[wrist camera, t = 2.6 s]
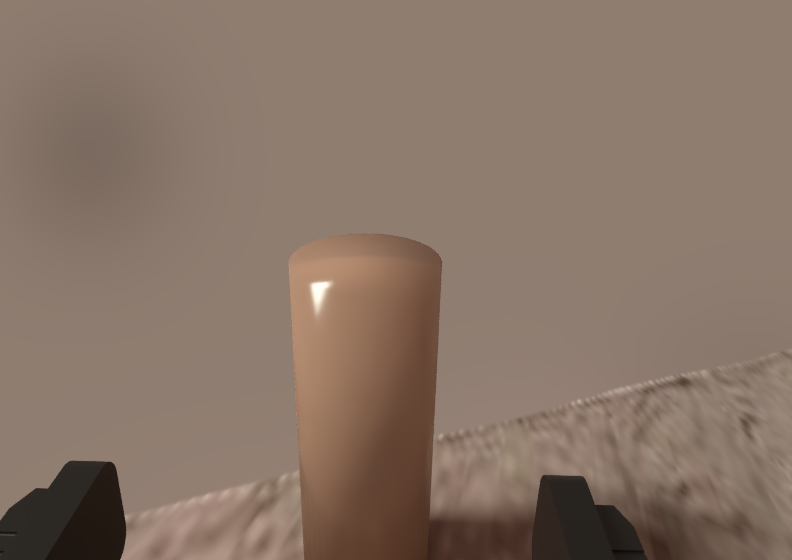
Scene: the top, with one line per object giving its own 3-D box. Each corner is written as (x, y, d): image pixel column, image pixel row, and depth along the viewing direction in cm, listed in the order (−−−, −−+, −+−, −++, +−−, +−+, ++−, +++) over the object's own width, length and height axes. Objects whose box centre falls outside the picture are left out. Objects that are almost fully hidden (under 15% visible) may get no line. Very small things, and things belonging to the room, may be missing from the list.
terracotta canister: (425, 519, 31) (438, 235, 25) (429, 617, 26) (446, 295, 21) (312, 517, 31) (300, 232, 25) (296, 614, 26) (276, 291, 21)
